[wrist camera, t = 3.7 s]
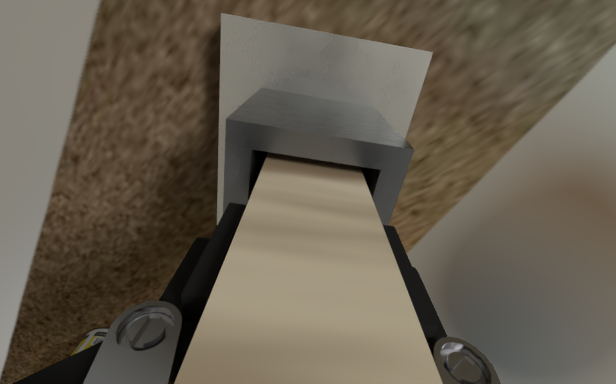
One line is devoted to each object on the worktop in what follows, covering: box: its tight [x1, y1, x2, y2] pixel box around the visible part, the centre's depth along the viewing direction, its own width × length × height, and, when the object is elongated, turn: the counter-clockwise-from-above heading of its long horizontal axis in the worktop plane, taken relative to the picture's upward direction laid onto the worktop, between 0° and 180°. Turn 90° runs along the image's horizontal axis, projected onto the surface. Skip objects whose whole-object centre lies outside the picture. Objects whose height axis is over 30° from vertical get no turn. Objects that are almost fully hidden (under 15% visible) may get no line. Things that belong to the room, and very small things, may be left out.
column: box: [174, 152, 443, 384], centre depth 12 cm, size 4×4×16 cm
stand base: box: [217, 13, 433, 225], centre depth 17 cm, size 14×12×10 cm
